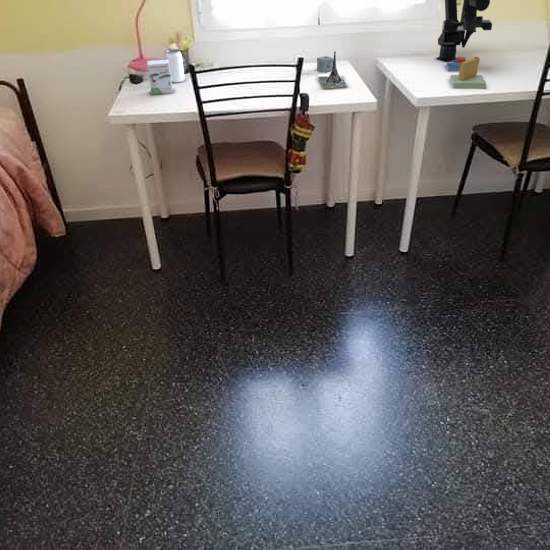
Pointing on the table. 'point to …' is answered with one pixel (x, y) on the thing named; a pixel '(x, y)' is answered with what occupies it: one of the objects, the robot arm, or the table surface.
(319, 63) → the dice cube
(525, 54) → the table surface
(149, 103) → the table surface
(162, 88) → the ink box
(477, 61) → the brass bar
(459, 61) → the red button
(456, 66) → the button box
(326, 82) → the eiffel tower figurine
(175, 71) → the can
